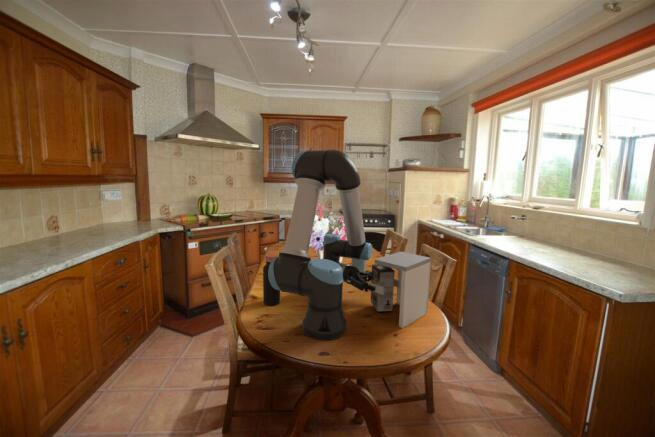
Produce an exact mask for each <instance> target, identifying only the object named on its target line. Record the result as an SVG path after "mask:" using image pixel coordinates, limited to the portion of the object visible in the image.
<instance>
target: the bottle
mask: <svg viewBox="0 0 655 437" xmlns="http://www.w3.org/2000/svg"><path fill="white" fill-rule="evenodd" d="M278 256H279V254H277V253H276V254H275V253H270V254H269V253H267V254H265V259H264V260H265V261H264V262H265V265H264V266H263V268H262V281H263V283H262V286H263V287H262V289H263V290H262V291H263V299H262V301H263V302H262V303H263V304H264V305H265V306H268V307H269V306H271V307H272V306H273V307H274V306H277V305H278V304H280V302H281V291H279V290H276V289H274V288H273V287H272V286H271V283H270V282H269V277H268V270H269V266H270V263H271V262H272V260H273V259H274V258H277V257H278Z"/></svg>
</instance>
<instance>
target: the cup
mask: <svg viewBox="0 0 655 437" xmlns="http://www.w3.org/2000/svg"><path fill="white" fill-rule="evenodd" d="M350 265H351V266H354V267H357V268H358V270H359V271H360V272H364V273H366V266H367V260H358V259H352V258H351V264H350Z"/></svg>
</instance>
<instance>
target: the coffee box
mask: <svg viewBox="0 0 655 437" xmlns="http://www.w3.org/2000/svg"><path fill="white" fill-rule="evenodd" d="M371 272H372V280H371V281H370V283H372V284H376V285H379V286H382V287H384V295H382V294H379V293H376V292H373V291H370V303H371V305H372V306H373V308H374V309H375V310H376V311H377V312H388V311H389V312H391V311H393V304H394V291H395V290H394V289H395V288H394V287H395V286H394V279H395V272H396V271H395V269H394V268H390V267H387V266H383V265H379V264H375V263H374V264H372V265H371Z"/></svg>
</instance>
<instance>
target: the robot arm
mask: <svg viewBox="0 0 655 437" xmlns="http://www.w3.org/2000/svg"><path fill="white" fill-rule="evenodd" d="M291 162H292V163H291V175H292V177H293V179H294V182H295V184H296V185H297V188H296V194H295V199H294V203H293V207H292V212H291V217H290V221H289V226H288V231H287V236H286V240H285V245H284V248H283V249H282V250H280V251H279V252H278V257H277V258H274V259H273V260H272V262H271V263H270V266H269V270H268V277H269V282H270V283H271V286H272V287H273V288H274V289H276V290H279V291H280V292H282V293H287V294H291V295H292V294H293V295H297V296H301V297H306V298H307V308H306V312H305V315H304V318H303V319H302V331H303V333H304V334H305V335H306V336H308V337H309V338H312V339H315V340H326V341H328V340H334V339H338V338H340V337H343V335H344V334H345V333H347V325H348V324H347V320H346V317H345V314H344V310H343V287H344V286H343V283H344V282H345V283H346V284H348V285H351V286H352V287H354V288H356V289H357V290H360V291H361V292H362V291H363V292H366V293H368V292H369V291H370V292H371V291H373V292H376V293H379V294H382V295H384V287H382V286H379V285H376V284H372V283H371V280H372V271H369V270H365V272H360V271H359V270H358V268H357V267H354V266H351V264H347V263H344V262H340V259H341V258H347V259H351V260H352V259H358V260H366V261H369V260H371V258H372V255H373V245H372V244H371V242H367V241H366V233H365V227H364V226H365V225H364V219H363V213H362V212H363V211H362V204H361V197H360V188H359V187H360V186H361V184H362V182H361V175H360V173H359V170H358V168H357V166H356V164H355V163H354V161H353V160H352V159H351V157H349V155H347V154H346V153H345V152H343V151H341V150H338V149H321V150H320V149H318V150H317V149H316V150H315V149H314V150H313V149H307V150H301V151H300V152H298V153H296V154H295V156H294V158H293V159H292V161H291ZM327 182H333V183H334V186H335V189H336V190H337V191H338V194H339V198H340V205H341V210H342V216H343V221H344V228H345V232H346V239H347V240H346V239H342V238H341V235H339V234H337V233H327V234H325V235H324V236H323V243H322V245H323V247H322V249H323V251H322V256H323V257H322V258H313V259H312V257H311V256H310V254H309V248H310V244H311V238H312V233H313V228H314V223H315V219H316V213H317V208H318V204H319V198H320V194H321V191H322V190H324V189H325V188H326V185H327ZM399 286H400V280H398V279H396V278H394V287H395V288H397V287H399Z"/></svg>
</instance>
